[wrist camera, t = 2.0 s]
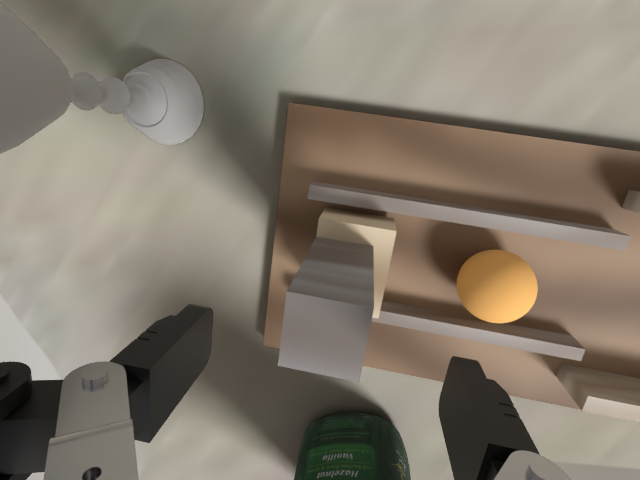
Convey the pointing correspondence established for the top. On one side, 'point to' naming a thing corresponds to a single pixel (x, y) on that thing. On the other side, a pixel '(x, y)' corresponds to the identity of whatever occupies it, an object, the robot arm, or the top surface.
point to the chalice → (89, 91)
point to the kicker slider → (337, 294)
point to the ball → (497, 286)
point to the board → (478, 248)
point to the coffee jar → (352, 449)
